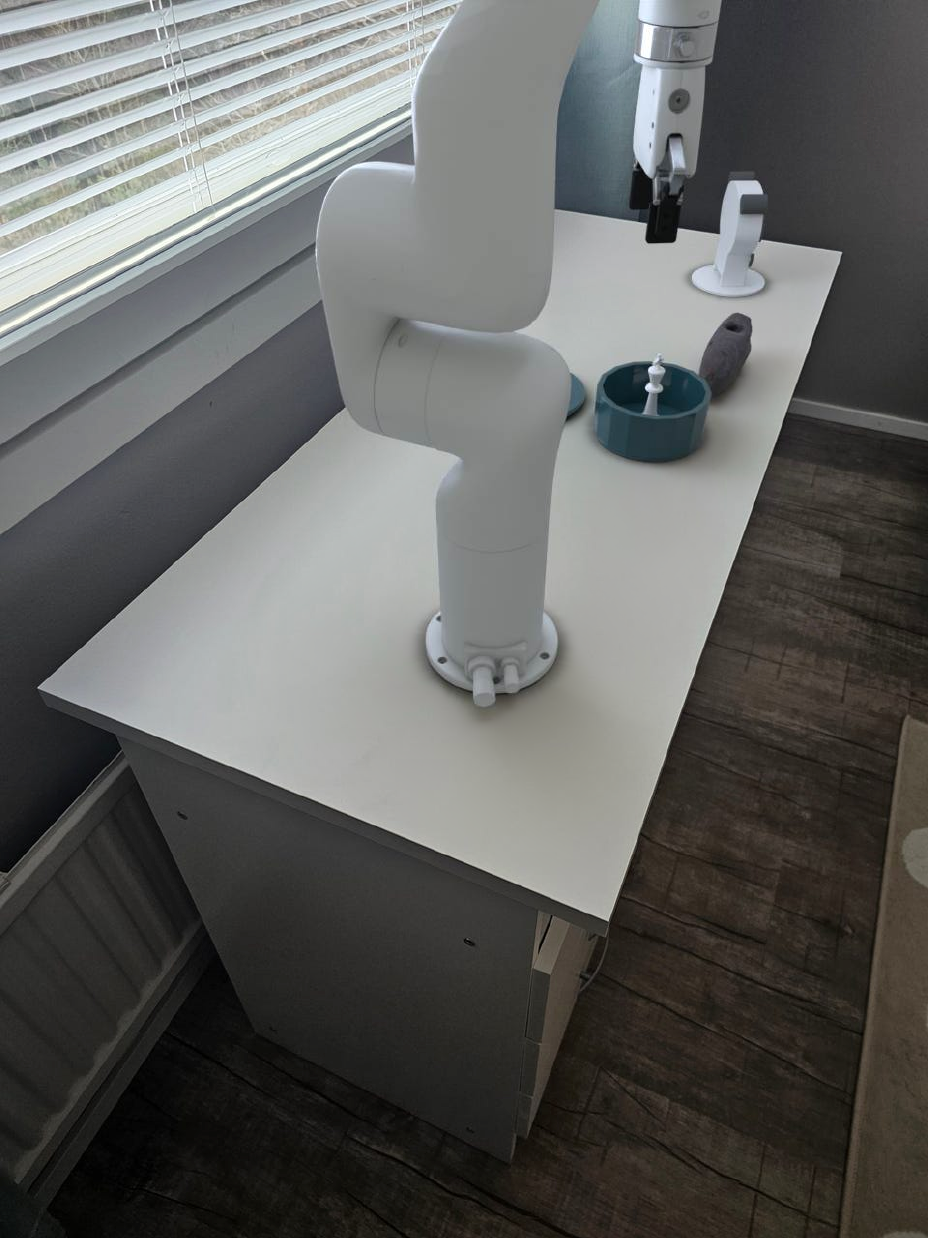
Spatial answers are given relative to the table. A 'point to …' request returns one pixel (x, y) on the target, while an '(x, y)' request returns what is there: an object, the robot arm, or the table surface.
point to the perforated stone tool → (726, 352)
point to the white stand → (736, 240)
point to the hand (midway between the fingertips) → (651, 224)
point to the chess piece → (654, 385)
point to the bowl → (649, 434)
